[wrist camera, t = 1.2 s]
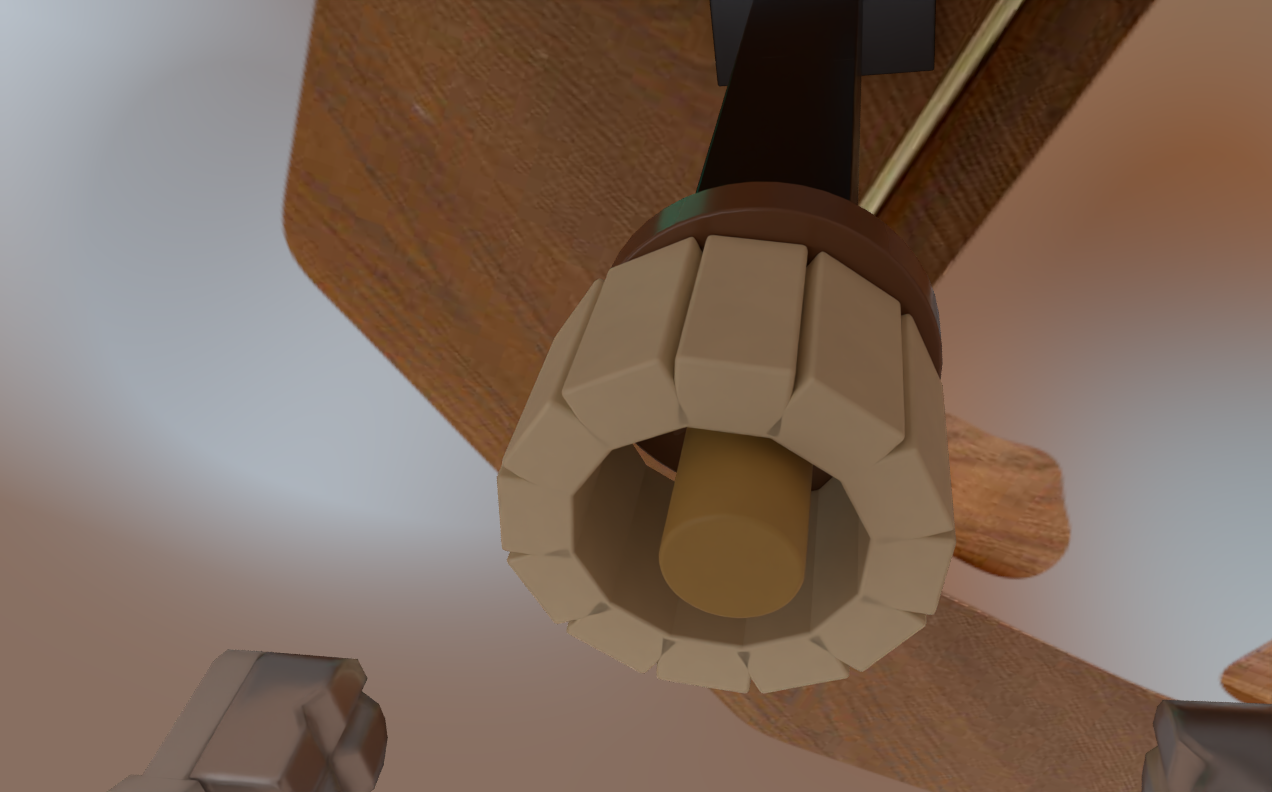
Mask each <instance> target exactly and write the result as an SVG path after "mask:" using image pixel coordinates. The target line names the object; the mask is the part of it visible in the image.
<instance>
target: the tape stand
mask: <svg viewBox="0 0 1272 792" xmlns="http://www.w3.org/2000/svg"><path fill="white" fill-rule="evenodd" d="M710 10H711V20H712V30H713V40H714V50H715V61H716V71H717V81H718V86H727V90H726V93H725V96H724V100H723V103H722V106H721V110H720V113H719V116H718V120H717V123H716V126H715V130H714V133H713V136H712V140H711V143H710V146H709V150H708V153H707V156H706V160H705V163H704V166H703V170H702V173H701V177H700V180H699V183H698V187H697V190H696V193H695V194H693V195H691V196H688V197H685V198H683V199H681V200H679V201H678V202H676V203H674V204H672V205H670V206H668V207H666V208H665V209H663V210H662V211H660V212H659V213H658V214H656V215H655V216H653V217H652V218H651V219H649V220H648V221H647V222H646V223H645V224H644V225H643V226H641V227H640V228H639V229H638V230H637V231H636V232H635V233H634V234H633V235H632V236H631V238H630V239H629V240H628V242H627V243H626V244H625V246H624V247H623V248H622V249H621V251H620V252H619V254H618V256H617V258H616V260H615V261H614V263H613V265H612V267H611V268H613V267H615V266H618V265H621V264H623V263H626V262H628V261H631V260H633V259H636V258H638V257H641V256H643V255H646V254H649V253H651V252H654V251H656V250H659V249H661V248H664V247H666V246H669V245H672V244H674V243H677V242H679V241H682V240H684V239H687V238H689V237H694V238H695V240H696V241H697V243H698V245H699V247H700V249H701V251H702V253H703V250H704V246H705V243H706V239H707V238H708V236H710V235H718V236H727V237H736V238H745V239H755V240H764V241H773V242H782V243H791V244H800V245H804V246H806V247H807V250H808V255H807V265H806V267H807V266H808V265H809V264H810V263H811V262H812V261H813V259H814V258H815V257H816V256H817V255H818V254H819V253H820V252H825V253H827V254H828V255H830V256H831V257H833V258H834V259H836V260H837V261H839V262H840V263H842V264H843V265H845V266H846V267H848V268H849V269H851V270H852V271H854V272H855V273H857V274H858V275H860V276H861V277H863V278H864V279H866V280H868V281H869V282H871V283H872V284H874V285H875V286H877V287H878V288H880V289H881V290H883V291H884V292H886V293H887V294H889V295H890V296H892V297H893V298H895V299H896V300H898V301H899V303H900V306H901V316H902V315H905V314H910V315H911V316H912V317H913V320H914V322H915V324H916V326H917V329H918V331H919V333H920V335H921V338H922V340H923V342H924V344H925V347H926V349H927V351H928V353H929V356H930V358H931V360H932V362H933V365H934V367H935V369H936V371H937V374H938V376H939V378H940V379H941V370H942V343H941V332H940V321H939V312H938V308H937V303H936V298H935V294H934V291H933V289H932V286H931V284H930V281H929V278H928V276H927V274H926V272H925V271H924V269H923V267H922V265H921V264H920V262H919V260H918V258H917V257H916V256H915V254H914V253H913V252H912V251H911V249H910V248H909V247H908V246H907V244H906V243H905V242H904V240H903V239H901V238H900V237H899V236H898V235H897V234H896V233H895V232H894V231H893V230H892V229H891V228H890V227H889V226H888V225H887V224H885V223H884V222H882V221H881V220H880V219H878V218H877V217H876V216H874V215H873V214H871V213H870V212H869V211H867V210H865V209H863V208H861V207H860V206H858V184H859V147H860V111H861V76H864V75H878V74H891V73H904V72H918V71H931V70H934V57H935V14H936V0H710ZM636 444H637V445H638V446H639V447H640V448H641V449H642V450H643V451H645V452H646V453H647V454H649V455H650V456H651V457H652V458H654V459H655V460H656V461H658V462H660V463H661V464H663V465H664V466H666V467H668V468H669V469H671V470H672V471H674V472H676V473H677V474H676V478H675V482H674V487H673V491H672V496H671V500H670V505H669V509H668V514H667V518H666V522H665V527H664V531H663V536H662V540H661V545H660V549H659V565H660V569H661V572H662V575H663V577H664V579H665V581H666V582H667V584H668V585H669V587H670V588H671V589H672V590H673V592H674V593H676V594H677V595H678V596H679V597H680V598H681V599H683V600H684V601H685V602H687V603H688V604H690V605H692V606H693V607H696V608H698V609H700V610H702V611H705V612H708V613H710V614H714V615H718V616H723V617H731V618H750V617H757V616H763V615H766V614H769V613H772V612H774V611H776V610H779V609H780V608H782V607H784V606H785V605H786V604H788V603H789V602H790V601H791V600H792V599H793V598H794V597H795V596H796V594H797V593H798V591H799V590H800V588H801V586H802V584H803V582H804V577H805V569H806V555H807V540H808V526H809V512H810V498H811V491H814V490H818V489H820V488H821V487H822V486H824V485H825V484H826V483H827V482H828V481H829V480H830V479H831V478H832V477H833V476H831V475H829V474H828V473H826V472H825V471H823V470H821V469H820V468H818V467H816V466H815V465H813V464H812V463H810V462H808V461H807V460H805V459H803V458H802V457H800V456H799V455H797V454H795V453H794V452H792V451H790V450H789V449H787V448H785V447H784V446H782V445H781V444H779V443H777V442H776V441H774V440H772V439H771V438H765V437H758V436H750V435H743V434H735V433H728V432H720V431H712V430H705V429H697V428H690V427H685V428H682V429H678V430H675V431H672V432H669V433H665V434H662V435H659V436H656V437H652V438H649V439H646V440H643V441H639V442H636Z"/></svg>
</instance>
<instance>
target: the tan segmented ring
mask: <svg viewBox="0 0 1272 792" xmlns="http://www.w3.org/2000/svg"><path fill="white" fill-rule="evenodd" d="M807 255H808V250H807V247H806V246H804V245H800V244H791V243H782V242H773V241H764V240H755V239H745V238H736V237H727V236H718V235H710V236H708V238H707V239H706V243H705V246H704V250H703V253H702V251H701V249H700V247H699V245H698V243H697V241H696V240H695V238H694V237H689V238H687V239H684V240H682V241H679V242H677V243H674V244H672V245H669V246H666V247H664V248H661V249H659V250H656V251H654V252H651V253H649V254H646V255H643V256H641V257H638V258H636V259H633V260H631V261H628V262H626V263H623V264H621V265H618V266H615V267H613V268H611V269H610V270H609V272H608V274H607V277H606V279H605V280H603V279H598V280H596V281H595V282H594V283H593V285H592V286H591V288H590V289H589V290H588V292H587V293H586V295H585V296H584V297H583V299H582V300H581V302H580V303H579V304H578V306H577V307H576V309H575V310H574V311H573V313H572V314H571V316H570V317H569V318H568V320H567V321H566V322H565V324H564V325H563V327H562V328H561V329H560V331H559V332H558V334H557V335H556V336H555V339H554V341H553V343H552V345H551V348H550V350H549V352H548V355H547V357H546V359H545V362H544V364H543V366H542V369H541V371H540V373H539V376H538V378H537V380H536V383H535V385H534V387H533V390H532V392H531V394H530V397H529V399H528V401H527V404H526V406H525V408H524V411H523V413H522V415H521V418H520V420H519V422H518V425H517V427H516V429H515V432H514V434H513V436H512V439H511V441H510V443H509V446H508V448H507V450H506V453H505V455H504V457H503V460H502V466H501V469H500V471H499V473H498V476H497V486H498V501H499V514H500V528H501V542H502V549H503V550H505V551H510V553H509V556H508V559H507V562H508V564H509V565H510V566H511V568H512V569H513V570H514V571H515V573H516V574H517V575H518V577H519V578H520V579H521V581H522V582H523V583H524V584H525V586H526V587H527V588H528V590H529V591H530V592H531V593H532V595H533V596H534V597H535V598H536V600H537V601H538V602H539V604H540V605H541V606H542V608H543V609H544V610H545V611H546V613H547V614H548V615H549V617H550V618H551V619H552V620H553V622H554V623H555V624H560V623H564V622H569V623H568V626H567V633H568V634H570V635H571V636H573V637H575V638H577V639H579V640H580V641H583V642H584V643H586V644H588V645H590V646H592V647H593V648H595V649H597V650H599V651H601V652H603V653H604V654H606V655H608V656H610V657H612V658H614V659H616V660H617V661H619V662H621V663H623V664H625V665H626V666H628V667H630V668H632V669H634V670H636V671H638V672H639V673H642V674H645V673H646V672H647V671H648V670H649V669H650V668H652V667H653V666H654V665H655V664H656V663H657V673H656V675H657V677H658V679H660V680H666V681H673V682H678V683H684V684H691V685H696V686H703V687H709V688H715V689H721V690H727V691H733V692H739V693H747V692H748V691H749V689H750V682H751V678H752V680H753V681H754V683H755V684H756V686H757V687H758V689H759V690H760V692H762V693H769V692H774V691H780V690H785V689H790V688H796V687H801V686H807V685H812V684H817V683H823V682H828V681H834V680H839V679H844V678H847V677H848V676H849V666H851V667H853V668H854V669H856V670H858V671H861V672H862V671H865V670H866V669H867V668H869V667H870V666H871V665H873V664H874V663H875V662H877V661H878V660H880V659H881V658H882V657H884V656H885V655H886V654H888V653H889V652H891V651H892V650H893V649H895V648H896V647H897V646H899V645H900V644H901V643H903V642H904V641H906V640H907V639H908V638H910V637H911V636H912V635H914V634H915V633H917V632H918V631H919V630H921V629H922V628H923V627H925V625H926V623H927V621H926V614H929V615H931V614H934V613H935V611H936V609H937V605H938V602H939V599H940V595H941V592H942V589H943V585H944V581H945V578H946V575H947V572H948V568H949V565H950V562H951V558H952V555H953V552H954V548H955V545H956V536H955V524H954V513H953V501H952V489H951V478H950V466H949V454H948V443H947V431H946V419H945V408H944V396H943V385H942V383H941V381H940V378H939V376H938V374H937V371H936V369H935V367H934V365H933V362H932V360H931V358H930V356H929V353H928V351H927V349H926V347H925V344H924V342H923V340H922V338H921V335H920V333H919V331H918V329H917V326H916V324H915V322H914V320H913V317H912V316H911V315H910V314H905V315H902V316H901V306H900V303H899V301H898V300H896V299H895V298H893V297H892V296H890V295H889V294H887V293H886V292H884V291H883V290H881V289H880V288H878V287H877V286H875V285H874V284H872V283H871V282H869V281H868V280H866V279H864V278H863V277H861V276H860V275H858V274H857V273H855V272H854V271H852V270H851V269H849V268H848V267H846V266H845V265H843V264H842V263H840V262H839V261H837V260H836V259H834V258H833V257H831V256H830V255H828V254H827V253H825V252H820V253H819V254H818V255H817V256H816V257H815V258H814V259H813V261H812V262H811V263H810V264H809V265H808V266H807V267H806V265H807ZM685 427H690V428H697V429H705V430H712V431H720V432H728V433H735V434H743V435H750V436H758V437H765V438H771V439H772V440H774V441H776V442H777V443H779V444H781V445H782V446H784V447H785V448H787V449H789V450H790V451H792V452H794V453H795V454H797V455H799V456H800V457H802V458H803V459H805V460H807V461H808V462H810V463H812V464H813V465H815V466H816V467H818V468H820V469H821V470H823V471H825V472H826V473H828V474H829V475H831V476H833V477H832V478H831V479H830V480H829V481H828V482H827V483H826V484H825V485H824V486H822V487H821V488H820V489H818V490H814V491H811V498H810V512H809V526H808V540H807V555H806V569H805V577H804V582H803V584H802V586H801V588H800V590H799V591H798V593H797V594H796V596H795V597H794V598H793V599H792V600H791V601H790V602H789V603H788V604H786V605H785V606H784V607H782V608H780V609H779V610H776V611H774V612H772V613H769V614H766V615H763V616H757V617H750V618H731V617H723V616H718V615H714V614H710V613H708V612H705V611H702V610H700V609H698V608H696V607H693V606H692V605H690V604H688V603H687V602H685V601H684V600H683V599H681V598H680V597H679V596H678V595H677V594H676V593H674V592H673V590H672V589H671V588H670V587H669V585H668V584H667V582H666V581H665V579H664V577H663V575H662V572H661V569H660V565H659V549H660V545H661V540H662V536H663V531H664V527H665V522H666V518H667V514H668V509H669V505H670V500H671V496H672V491H673V487H674V481H672V480H671V479H669V478H667V477H666V476H664V475H662V474H660V473H659V472H657V471H655V470H654V469H652V468H650V467H649V466H647V465H646V464H645V462H644V461H643V459H642V458H641V456H640V455H639V453H638V452H637V450H636V448H635V447H634V445H633V443H636V442H639V441H643V440H646V439H649V438H652V437H656V436H659V435H662V434H665V433H669V432H672V431H675V430H678V429H682V428H685Z"/></svg>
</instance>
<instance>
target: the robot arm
mask: <svg viewBox="0 0 1272 792" xmlns="http://www.w3.org/2000/svg"><path fill="white" fill-rule="evenodd" d="M366 681H367V676H366V675H365V673H364V671H363V669H362V667H361V665H360V663H359V661H358V659H351V658H338V657H325V656H313V655H300V654H299V655H298V654H287V653H274V652H262V651H245V650H227V651H225V652H224V653H223V654H222V655H220V656H219V657H218V658H216V659H215V660H214V661H213V663H212V664H211V666H210V667H209V669H208V671H207V672H206V674H205V676H204V677H203V679H202V680H201V682H200V683H199V685H198V687H197V688H196V690H195V692H194V693H193V695H192V696H191V698H190V700H189V701H188V703H187V704H186V706H185V708H184V709H183V711H182V712H181V714H180V716H179V717H178V719H177V720H176V722H175V724H174V725H173V727H172V729H171V730H170V732H169V733H168V735H167V737H166V738H165V740H164V742H163V743H162V745H161V746H160V748H159V749H158V751H157V753H156V754H155V756H154V758H153V759H152V761H151V762H150V764H149V765H148V767H147V769H146V770H145V772H144V774H143V775H129V776H128V777H127V778H125V779H124V780H122V781H121V782H120V783H118V784H117V785H115V786H114V787H113V788H111V789H110V790H109V791H107V792H371V791H372V790H373V789H374V788H375V785H376V783H377V780H378V778H379V775H380V772H381V770H382V767H383V765H384V759H385V752H386V745H387V738H388V737H387V730H386V722H385V717H384V715H383V713H382V710H381V708H380V705H379V704H378V703H377V702H375V701H374V700H373V699H371V698H370V697H369V696H367V695H366V694H365V693H363V692H362V689H363V687H364V685H365V683H366ZM1153 727H1154V731H1155V735H1156V740H1157V744H1158V746H1156V747H1155V748H1153V749H1152V750H1150V751H1149V752H1147V753H1146V755H1145V761H1144V766H1143V772H1142V792H1272V704H1257V703H1231V702H1206V701H1180V700H1162V702H1161V703H1160V704H1159V705H1158V706H1157V709H1156V713H1155V717H1154V721H1153Z"/></svg>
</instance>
